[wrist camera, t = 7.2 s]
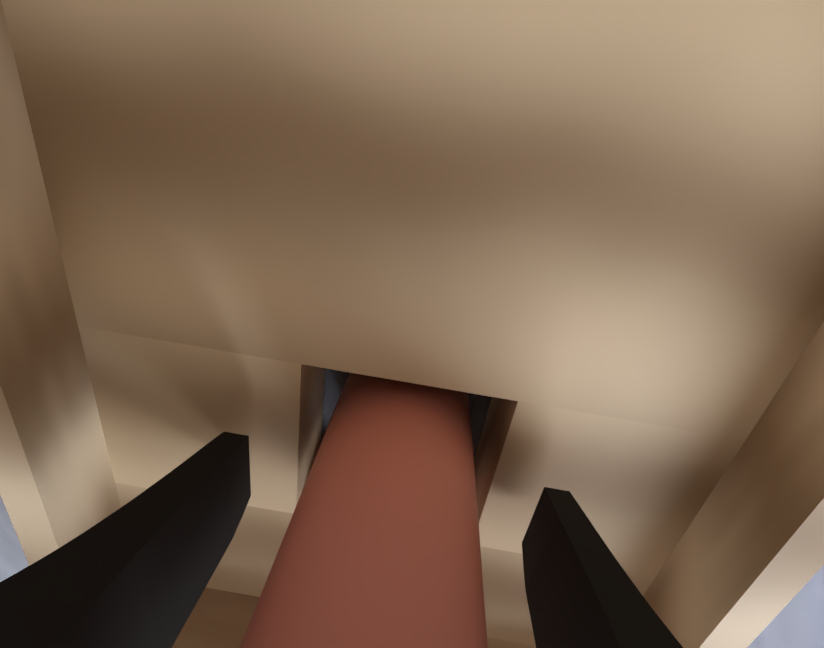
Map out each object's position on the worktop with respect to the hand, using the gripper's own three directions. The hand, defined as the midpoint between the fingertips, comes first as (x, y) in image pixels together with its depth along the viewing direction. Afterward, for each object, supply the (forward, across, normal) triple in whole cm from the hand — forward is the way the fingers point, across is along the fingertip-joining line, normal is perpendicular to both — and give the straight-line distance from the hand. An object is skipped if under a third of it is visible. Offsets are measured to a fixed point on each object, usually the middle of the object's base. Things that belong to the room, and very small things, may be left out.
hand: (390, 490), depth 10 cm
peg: (+3, 0, 0) cm, 3 cm away
